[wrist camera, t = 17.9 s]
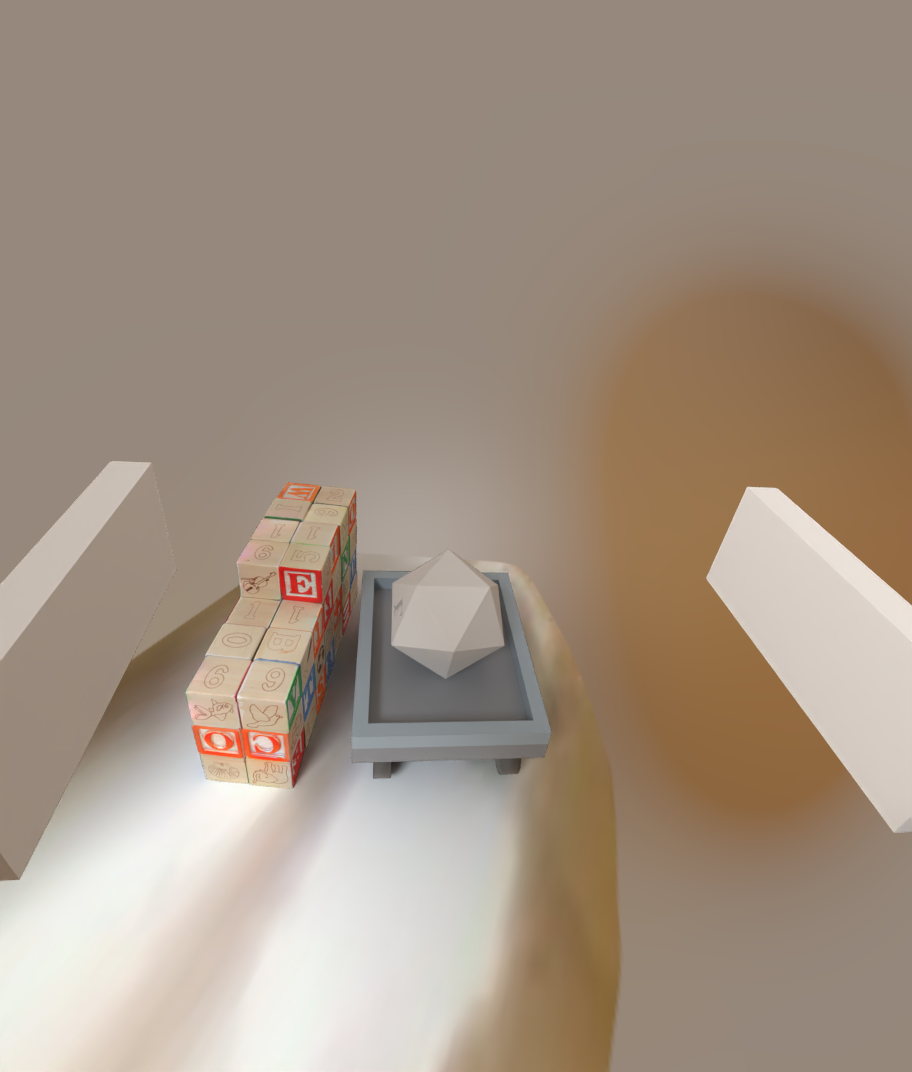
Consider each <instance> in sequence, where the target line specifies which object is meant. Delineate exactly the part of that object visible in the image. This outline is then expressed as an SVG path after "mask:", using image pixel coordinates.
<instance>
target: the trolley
mask: <svg viewBox="0 0 912 1072" xmlns="http://www.w3.org/2000/svg"><path fill="white" fill-rule="evenodd" d="M410 572H412V571H363V580H362V594H361V608H360V622H359V636H358V650H357V665H356V679H355V693H354V707H353V721H352V735H351V745H352V763H366V762H373V779H376V778H391V762H401V761H437V760H472V759H495V762H496V767H497V770H498V773H499V774H500V775H501V774H518V772H519V770H520V764H521V758H543V757H544V756H545V753H546V750H547V746H548V743H549V740H550V736H551V729H550V725H549V722H548V718H547V714H546V711H545V707H544V703H543V700H542V696H541V692H540V689H539V685H538V682H537V678H536V674H535V671H534V667H533V663H532V660H531V656H530V652H529V649H528V645H527V641H526V638H525V634H524V631H523V627H522V623H521V620H520V616H519V612H518V609H517V605H516V601H515V598H514V594H513V590H512V587H511V583H510V579H509V576H508V573H482V574H484V575H485V576H486V577H488V578H489V579H490V580H492V581H493V582H495V583H496V584H497V585H498V590H499V599H500V609H501V618H502V627H503V637H504V646H503V647H501V648H499V649H498V650H496V651H494V652H492V653H491V654H489V655H487V656H485V657H484V658H482V659H480V660H478V661H477V662H475V663H473V664H471V665H470V666H468V667H466V668H464V669H463V670H461V671H459V672H457V673H456V674H454V675H452V676H450V677H449V678H447V679H445V678H443V677H442V676H440V675H438V674H437V673H435V672H433V671H432V670H430V669H429V668H427V667H425V666H424V665H422V664H421V663H419V662H417V661H416V660H414V659H413V658H411V657H409V656H408V655H406V654H405V653H403V652H401V651H400V650H398V649H397V648H395V647H393V646H392V645H391V632H392V583H393V582H395V581H397V580H398V579H400V578H402V577H403V576H405V575H407V574H408V573H410Z"/></svg>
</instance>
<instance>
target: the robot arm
mask: <svg viewBox="0 0 912 1072" xmlns="http://www.w3.org/2000/svg"><path fill="white" fill-rule="evenodd" d="M176 570H177V569H176V565H175V560H174V556H173V552H172V548H171V543H170V539H169V535H168V530H167V526H166V522H165V518H164V514H163V510H162V505H161V501H160V496H159V492H158V488H157V484H156V479H155V475H154V471H153V467H152V463H144V462H119V461H111V462H110V463H109V464H108V465H107V466H106V467H105V468H104V470H103V471H102V472H101V473H100V474H99V475H98V476H97V478H95V480H94V481H93V482H92V483H91V484H90V485H89V486H88V488H87V489H86V490H85V491H84V492H83V493H82V494H81V495H80V496H79V497H78V499H77V500H76V501H75V502H74V503H73V504H72V505H71V506H70V507H69V509H68V510H67V511H66V512H65V513H64V514H63V515H62V516H61V517H60V519H59V520H58V521H57V522H56V523H55V524H54V525H53V526H52V528H51V529H50V530H49V531H48V532H47V533H46V534H45V535H44V536H43V538H42V539H41V540H40V541H39V542H38V543H37V544H36V545H35V547H34V548H33V549H32V550H31V551H30V552H29V553H28V554H27V555H26V556H25V558H24V559H23V560H22V561H21V562H20V563H19V564H18V565H17V567H16V568H15V569H14V570H13V571H12V572H11V573H10V574H9V576H8V577H7V578H6V579H5V580H4V581H3V582H2V583H1V584H0V881H4V880H20V878H21V876H22V874H23V872H24V870H25V868H26V866H27V864H28V862H29V860H30V858H31V856H32V854H33V852H34V850H35V848H36V846H37V844H38V842H39V840H40V838H41V836H42V834H43V832H44V830H45V829H46V827H47V825H48V823H49V821H50V819H51V817H52V815H53V813H54V811H55V809H56V807H57V805H58V803H59V801H60V799H61V797H62V795H63V793H64V791H65V789H66V787H67V785H68V783H69V781H70V779H71V777H72V775H73V773H74V771H75V769H76V767H77V766H78V764H79V762H80V760H81V758H82V756H83V754H84V752H85V750H86V748H87V746H88V744H89V742H90V740H91V738H92V736H93V734H94V732H95V730H96V728H97V726H98V724H99V722H100V720H101V718H102V716H103V714H104V712H105V710H106V708H107V706H108V704H109V703H110V701H111V699H112V697H113V695H114V693H115V691H116V689H117V687H118V685H119V683H120V681H121V679H122V677H123V675H124V673H125V671H126V669H127V667H128V665H129V663H130V661H131V659H132V657H133V655H134V653H135V651H136V649H137V647H138V645H139V643H140V641H141V640H142V637H143V636H144V634H145V632H146V630H147V628H148V626H149V624H150V622H151V620H152V618H153V616H154V614H155V612H156V610H157V608H158V606H159V604H160V602H161V600H162V598H163V596H164V594H165V592H166V590H167V588H168V586H169V584H170V582H171V580H172V578H173V577H174V575H175V573H176ZM706 579H707V580H708V582H709V583H710V584H711V586H712V587H713V589H714V590H715V591H716V593H717V594H718V595H719V597H720V598H721V599H722V601H723V602H724V603H725V605H726V606H727V607H728V609H729V610H730V611H731V613H732V614H733V615H734V617H735V618H736V620H737V621H738V622H739V624H740V625H741V626H742V628H743V629H744V631H745V632H746V633H747V635H748V636H749V637H750V639H751V640H752V641H753V643H754V644H755V645H756V647H757V648H758V649H759V651H760V652H761V654H762V655H763V656H764V658H765V659H766V660H767V662H768V663H769V664H770V666H771V667H772V668H773V670H774V671H775V673H776V674H777V675H778V677H779V678H780V679H781V681H782V682H783V683H784V685H785V686H786V687H787V689H788V690H789V691H790V693H791V694H792V695H793V697H794V698H795V700H796V701H797V702H798V704H799V705H800V706H801V708H802V709H803V710H804V712H805V713H806V715H807V716H808V717H809V719H810V720H811V721H812V723H813V724H814V725H815V727H816V728H817V729H818V731H819V732H820V733H821V735H822V736H823V738H824V739H825V740H826V742H827V743H828V744H829V746H830V747H831V748H832V750H833V751H834V752H835V754H836V755H837V756H838V758H839V759H840V760H841V762H842V763H843V765H844V766H845V767H846V769H847V770H848V771H849V773H850V774H851V775H852V777H853V778H854V780H855V781H856V782H857V784H858V785H859V786H860V788H861V789H862V790H863V792H864V793H865V794H866V796H867V797H868V799H869V800H870V801H871V803H872V804H873V805H874V806H875V808H876V809H877V811H878V812H879V813H880V815H881V816H882V817H883V819H884V820H885V822H886V823H887V824H888V826H889V827H890V828H891V830H892V831H893V832H894V833H900V832H912V605H910V604H909V603H908V602H907V601H906V600H904V599H903V598H902V597H901V596H900V595H899V594H898V593H897V592H895V591H894V590H893V589H892V588H891V587H890V586H889V585H887V584H886V583H885V582H884V581H883V580H882V579H880V578H879V577H878V576H877V575H876V574H875V573H874V572H873V571H871V570H870V569H869V568H868V567H867V566H866V565H864V564H863V563H862V562H861V561H860V560H859V559H858V558H856V557H855V556H854V555H853V554H852V553H851V552H850V551H849V550H847V549H846V548H845V547H844V546H843V545H842V544H840V543H839V542H838V541H837V540H836V539H835V538H834V537H832V536H831V535H830V534H829V533H828V532H827V531H826V530H824V529H823V528H822V527H821V526H820V525H819V524H818V523H816V522H815V521H814V520H813V519H812V518H811V517H809V516H808V515H807V514H806V513H805V512H804V511H802V509H800V508H799V507H798V506H797V505H796V504H795V503H793V502H792V501H791V500H790V499H789V498H788V497H787V496H786V495H784V494H783V493H782V492H781V491H780V490H779V489H777V488H760V487H747V489H746V491H745V493H744V495H743V498H742V500H741V502H740V504H739V507H738V509H737V511H736V513H735V516H734V518H733V520H732V522H731V524H730V526H729V529H728V531H727V533H726V535H725V538H724V540H723V542H722V544H721V546H720V549H719V551H718V553H717V555H716V558H715V560H714V562H713V564H712V567H711V569H710V571H709V573H708V575H707V578H706Z"/></svg>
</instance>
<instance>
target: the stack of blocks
mask: <svg viewBox="0 0 912 1072" xmlns="http://www.w3.org/2000/svg"><path fill="white" fill-rule="evenodd" d="M356 535H357V525H356V490H355V489H347V488H338V487H330V486H322V487H321V486H318V485H309V484H299V483H286V485H285V486H284V488H283V489H282V491H281V492H280V494H279V495H278V497H277V498H276V499H274V501H273V502H272V504H271V506H270V507H269V509H268V511H267V512H266V514H265V518H264V519H262V520H261V521H260V523H259V525H258V526H257V528H256V530H255V531H254V533H253V535H252V536H251V540H250V541H249V542H248V544H247V545H246V547H245V549H244V550H243V552H242V554H241V555H240V557H239V559H238V560H237V562H236V565H237V572H238V579H239V587H240V594H241V596H240V598H239V600H238V601H237V603H236V605H235V607H234V608H233V610H232V612H231V614H230V615H229V617H228V619H227V620H226V623H225V624H223V625H222V627H221V629H220V630H219V632H218V634H217V635H216V637H215V639H214V641H213V642H212V644H211V646H210V647H209V649H208V651H207V653H206V654H205V659H204V660H203V662H202V664H201V665H200V667H199V669H198V671H197V672H196V674H195V676H194V677H193V679H192V681H191V683H190V684H189V686H188V688H187V689H186V692H185V693H186V697H187V702H188V706H189V709H190V713H191V718H192V721H193V725H192V729H193V733H194V737H195V741H196V745H197V748H198V752H199V753H200V758H201V762H202V766H203V769H204V773H205V776H206V779H207V780H216V781H224V782H235V783H244V784H251V785H259V786H269V787H279V788H293V786H294V784H295V780H296V777H297V774H298V770H299V767H300V764H301V761H302V757H303V754H304V750H305V749H306V748H307V746H308V743H309V740H310V737H311V733H312V730H313V727H314V724H315V721H316V716H317V715H318V712H319V709H320V706H321V703H322V700H323V697H324V694H325V691H326V685H327V682H328V679H329V675H330V672H331V669H332V666H333V663H334V659H335V656H336V653H337V650H338V647H339V644H340V641H341V638H342V635H343V634H344V631H345V628H346V625H347V622H348V619H349V616H350V613H351V611H352V608H353V605H354V602H355V599H356V596H357V571H356V544H357V539H356V537H357V536H356Z"/></svg>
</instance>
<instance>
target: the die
mask: <svg viewBox="0 0 912 1072" xmlns="http://www.w3.org/2000/svg"><path fill="white" fill-rule="evenodd" d="M391 645H392V646H393V647H395V648H397V649H398V650H400V651H401V652H403V653H405V654H406V655H408V656H409V657H411V658H413V659H414V660H416V661H417V662H419V663H421V664H422V665H424V666H425V667H427V668H429V669H430V670H432V671H433V672H435V673H437V674H438V675H440V676H442V677H443V678H445V679H447V678H449V677H450V676H452V675H454V674H456V673H457V672H459V671H461V670H463V669H464V668H466V667H468V666H470V665H471V664H473V663H475V662H477V661H478V660H480V659H482V658H484V657H485V656H487V655H489V654H491V653H492V652H494V651H496V650H498V649H499V648H501V647H503V646H504V637H503V627H502V618H501V609H500V599H499V590H498V585H497V584H496V583H495V582H493V581H492V580H490V579H489V578H488V577H486V576H485V575H484V574H482V573H481V572H479V571H478V570H477V569H475V568H474V567H473V566H471V565H470V564H468V563H467V562H466V561H464V560H463V559H462V558H460V557H459V556H457V555H456V554H455V553H453V552H452V551H451V550H449V549H448V550H446V551H445V552H443V553H441V554H440V555H438V556H436V557H435V558H433V559H431V560H430V561H428V562H426V563H425V564H423V565H421V566H420V567H418V568H417V569H415V570H413V571H412V572H410V573H408V574H407V575H405V576H403V577H402V578H400V579H398V580H397V581H395V582H393V583H392V632H391Z"/></svg>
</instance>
